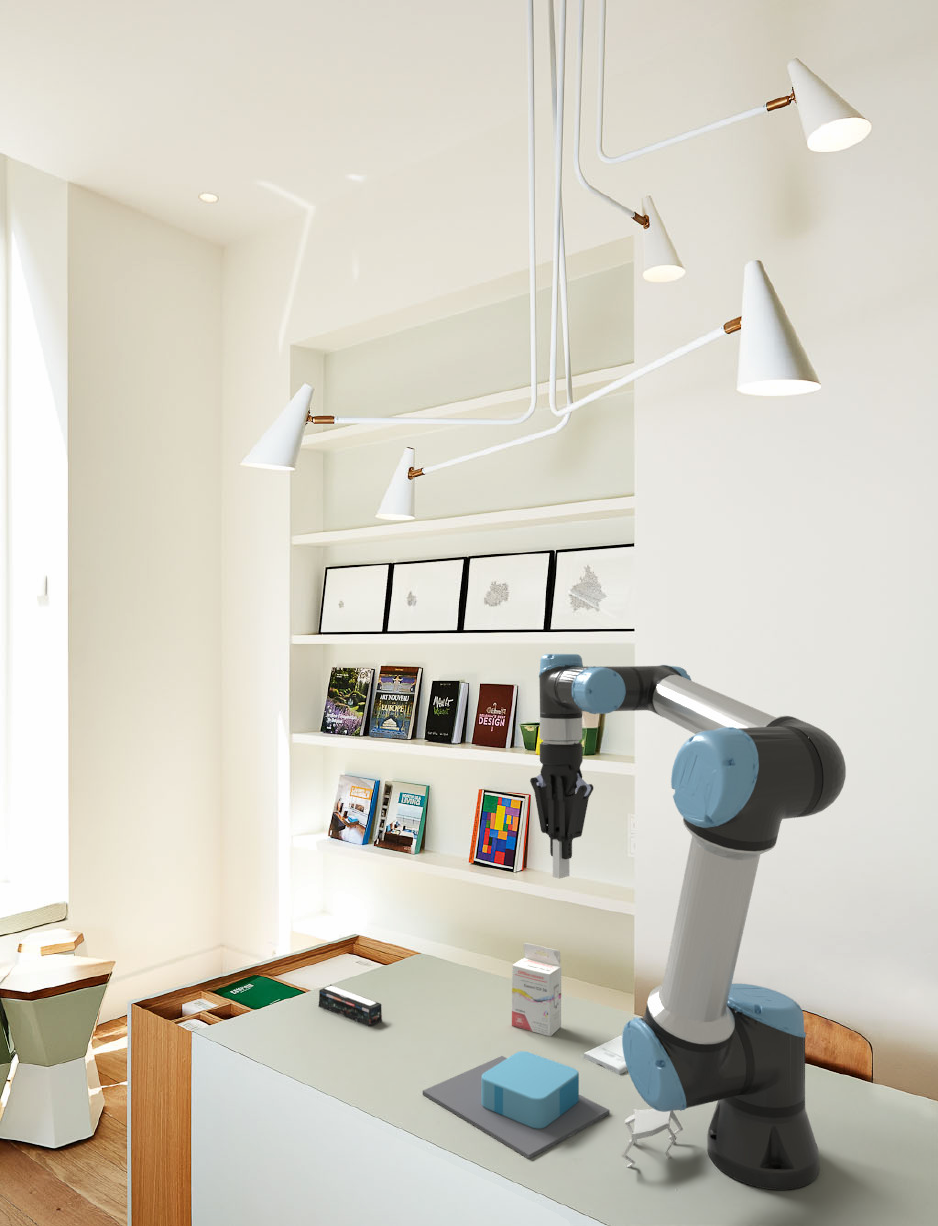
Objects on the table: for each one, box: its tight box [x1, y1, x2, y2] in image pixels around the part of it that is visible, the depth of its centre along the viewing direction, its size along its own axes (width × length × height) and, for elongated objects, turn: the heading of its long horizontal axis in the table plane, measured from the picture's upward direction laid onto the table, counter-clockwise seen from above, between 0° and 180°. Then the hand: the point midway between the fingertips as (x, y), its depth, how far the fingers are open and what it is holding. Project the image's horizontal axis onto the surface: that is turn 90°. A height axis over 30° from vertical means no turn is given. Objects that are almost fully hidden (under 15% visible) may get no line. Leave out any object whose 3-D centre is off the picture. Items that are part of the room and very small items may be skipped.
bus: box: [317, 984, 383, 1027], centre depth 172 cm, size 14×25×4 cm, turn 50°
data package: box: [481, 1050, 580, 1129], centre depth 139 cm, size 12×4×12 cm
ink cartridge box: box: [511, 942, 562, 1037], centre depth 168 cm, size 9×5×15 cm, turn 58°
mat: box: [422, 1055, 611, 1160], centre depth 140 cm, size 24×18×1 cm
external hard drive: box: [582, 1034, 628, 1076], centre depth 157 cm, size 2×8×12 cm
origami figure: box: [621, 1108, 683, 1169], centre depth 127 cm, size 12×8×5 cm
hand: (561, 876), depth 154 cm, fingers closed
